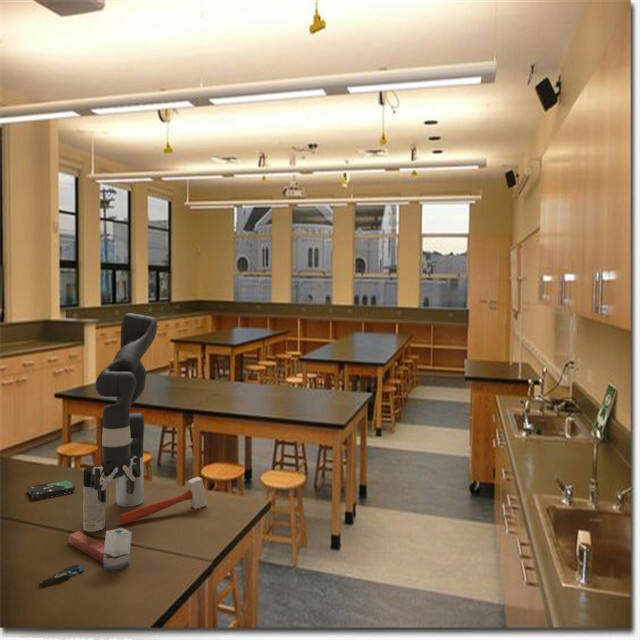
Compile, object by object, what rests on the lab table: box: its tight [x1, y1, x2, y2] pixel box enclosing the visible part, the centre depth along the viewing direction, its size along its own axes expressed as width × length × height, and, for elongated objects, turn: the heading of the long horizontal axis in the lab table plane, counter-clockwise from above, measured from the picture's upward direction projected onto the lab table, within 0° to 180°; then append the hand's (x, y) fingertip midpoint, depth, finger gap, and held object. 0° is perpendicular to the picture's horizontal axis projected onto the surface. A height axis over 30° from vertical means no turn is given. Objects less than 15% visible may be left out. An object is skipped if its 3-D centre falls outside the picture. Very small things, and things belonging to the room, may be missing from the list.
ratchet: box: [68, 530, 131, 573], centre depth 160 cm, size 27×7×6 cm, turn 53°
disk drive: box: [27, 479, 76, 501], centre depth 208 cm, size 10×3×15 cm
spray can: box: [82, 465, 106, 533], centre depth 177 cm, size 7×7×20 cm
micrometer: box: [38, 564, 84, 587], centre depth 148 cm, size 12×2×5 cm
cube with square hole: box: [104, 527, 133, 557], centre depth 154 cm, size 5×5×6 cm
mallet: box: [119, 476, 208, 526], centre depth 189 cm, size 11×4×30 cm
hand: (116, 497), depth 153 cm, fingers open, 8 cm apart
